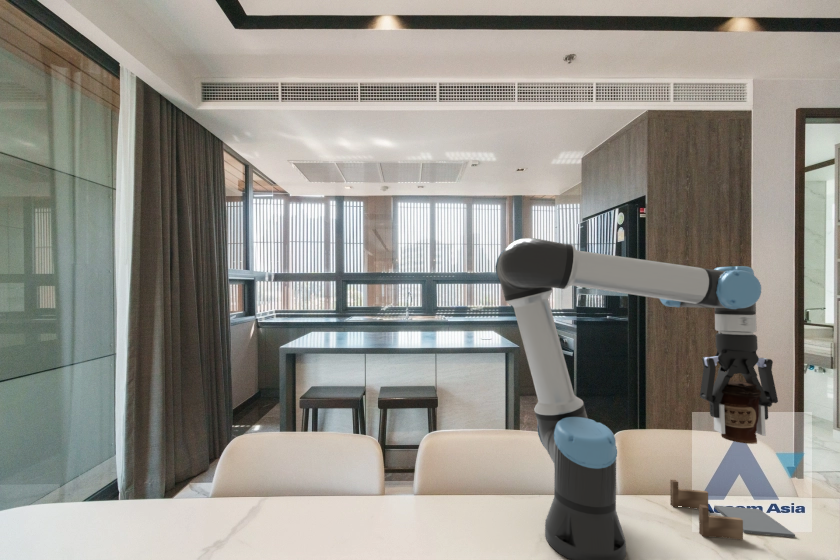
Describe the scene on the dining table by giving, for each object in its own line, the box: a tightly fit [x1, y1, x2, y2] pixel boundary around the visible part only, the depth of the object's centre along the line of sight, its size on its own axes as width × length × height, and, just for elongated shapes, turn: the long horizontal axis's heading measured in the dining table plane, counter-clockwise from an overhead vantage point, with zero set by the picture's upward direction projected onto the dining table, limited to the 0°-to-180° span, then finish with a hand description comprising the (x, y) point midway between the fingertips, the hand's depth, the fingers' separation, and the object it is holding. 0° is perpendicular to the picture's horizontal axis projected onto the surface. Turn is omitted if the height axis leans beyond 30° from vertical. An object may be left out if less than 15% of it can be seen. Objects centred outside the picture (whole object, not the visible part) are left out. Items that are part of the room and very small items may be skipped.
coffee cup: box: [720, 380, 761, 445], centre depth 89 cm, size 9×8×13 cm
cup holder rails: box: [669, 479, 744, 540], centre depth 88 cm, size 8×13×6 cm, turn 173°
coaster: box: [713, 504, 796, 538], centre depth 88 cm, size 10×10×1 cm
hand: (739, 432), depth 88 cm, fingers closed on coffee cup, 8 cm apart
